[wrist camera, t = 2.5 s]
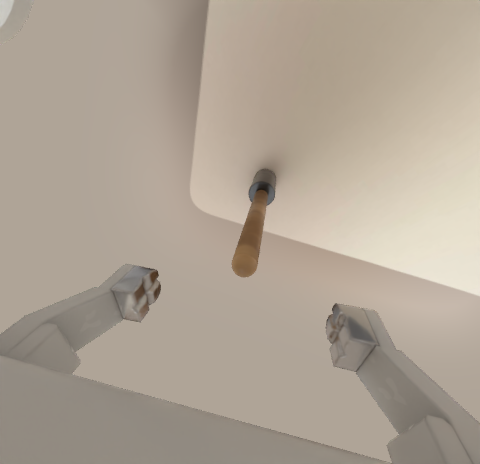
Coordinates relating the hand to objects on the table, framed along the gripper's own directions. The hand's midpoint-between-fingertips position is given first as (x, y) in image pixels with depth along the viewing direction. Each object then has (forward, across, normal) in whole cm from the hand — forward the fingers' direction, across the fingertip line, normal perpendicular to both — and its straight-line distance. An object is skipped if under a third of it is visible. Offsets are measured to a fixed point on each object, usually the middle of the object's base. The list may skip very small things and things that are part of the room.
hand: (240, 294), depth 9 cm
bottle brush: (+20, 0, 0) cm, 20 cm away
